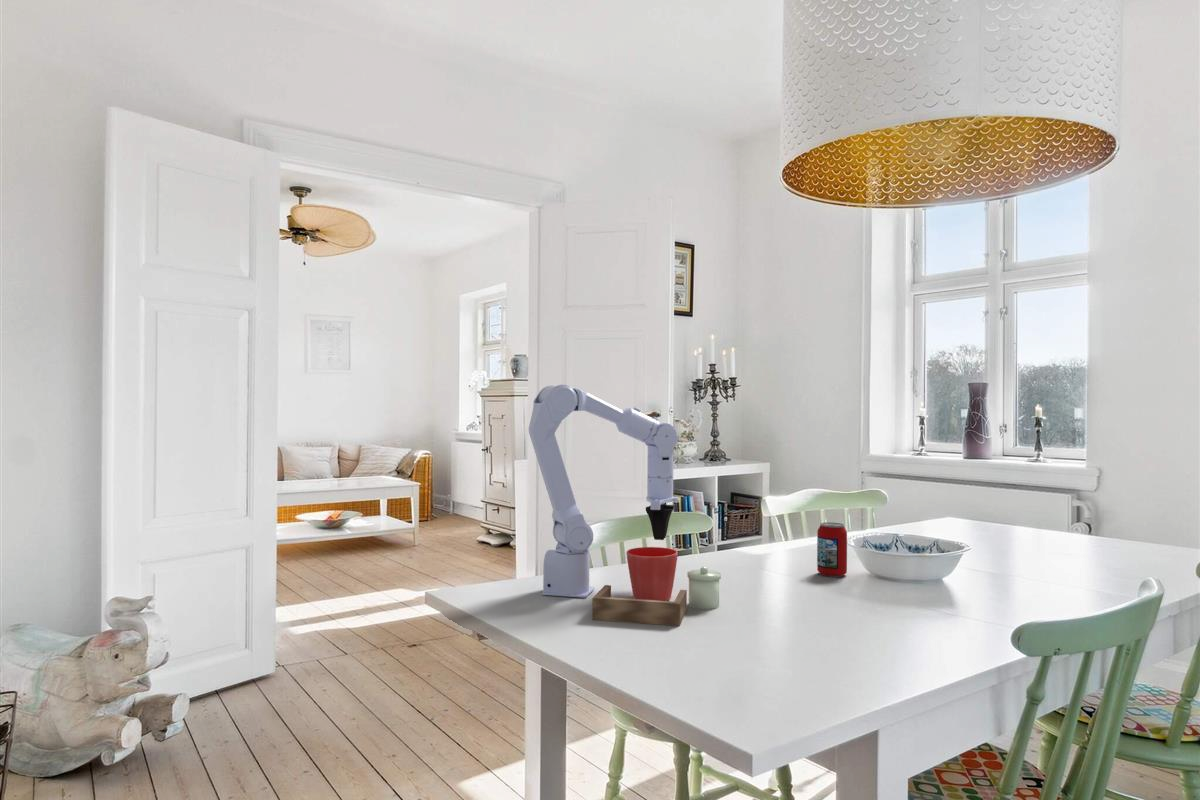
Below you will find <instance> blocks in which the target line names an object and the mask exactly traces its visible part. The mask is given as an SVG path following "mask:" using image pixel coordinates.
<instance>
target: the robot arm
mask: <svg viewBox="0 0 1200 800" xmlns="http://www.w3.org/2000/svg"><path fill="white" fill-rule="evenodd" d="M532 405H533V407H532V412H531V416H530V422H529V425H528V433H529V437H530V440H531V444H532V447H533V449H534V454H535V456H536V459H537V463H538V465H539V469H540V473H541V476H542V478H543V482H544V485H545V487H546V489H545V490H546V491H547V494H548V498H549V501H550V505H551V508H552V513H551V518H552V522H553V527H552V535H553V538H554V539H555V541H556V542H557V544H556V546H555V549H548V550H546V552H545V554H544V558H543V565H542V566H543V570H542V571H543V572H542V573H543V579H542V580H543V581H542V583H543V588H542V590H543V591H542V593H541V595H543V596H555V597H568V598H569V597H571V598H583V599H584V598H587V597H588V596H590V594H591V593H592V592H593V591H594V590H595V586H590V547H591V545H592V544H593V541H594V532H593V529H592V527H591V526H590V525H589V524H588V522H587V521H586V520H585V517H584V514H583V513H582V511H581V509H580V508H579V506H578V504H577V501H576V498H575V495H574V491H573V489H572V486H571V483H570V479H569V476H568V473H567V470H566V467H565V466H566V465H565V462H564V459H563V457H562V454H561V450H560V446H559V444H558V440H557V437H556V434H555V433H556V432H557V430H558V429H559V427H560V425H561V423H562V422H563V420H564V419H566V418H567V417H569V415H571V413H573V412H583V411H584V412H587V413H589V414H591V415H594V416H597V417H599V418H602V419H603V420H606V421H609V422H611V423H614V424H615V425H616V428H617V431H618V432H620V433H622V434H624V435H627V436H629V437H630V438H633V439H635V440H638V442H639V441H640V442H642V443H644V445H646V446H647V479H646V480H647V482H646V483H647V485H646V489H647V490H646V491H647V492H646V493H647V495H646V499H645V500H646V502H648V503H650V505H649V506H646V507H645V512H646V514H647V516H648V518H649V520H650V521H649V522H650V525H651V531H652V536H653V539H654V540H655V541H657V540H658V541H664V540H665V538H666V537H667V533H668V528H669V524H670V518H671V516H672V513H673V511H674V509H675V504H667V503H673V502H678V501H679V497H678V496H674V448H675V446H676V445H677V443H678V442H679V435H678V434H677V430H676V429H675V428H674V426H673V425H672V424H669V423H665V422H660V421H659V418H658V417H657V416H649V415H647V414H644V413H642V412H641V408H639V407H637V406H636V407H635V406H634V407H627V408H624V409H621V408H618V407H617V406H614V405H613V404H610V403H609V402H606V401H605V400H603V399H600V398H599V397H598V396H597V397H596V396H594V395H593V394H592V393H591V394H590V393H589V392H586V391H584V390H582V389H579V388H573V387H572V386H570V385H567V384H558V385H547V386H545V387H543V388H542V389H541V390H540V391H539V392H538V394H537V395H536V397H535V398H534V399H533V403H532Z"/></svg>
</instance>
